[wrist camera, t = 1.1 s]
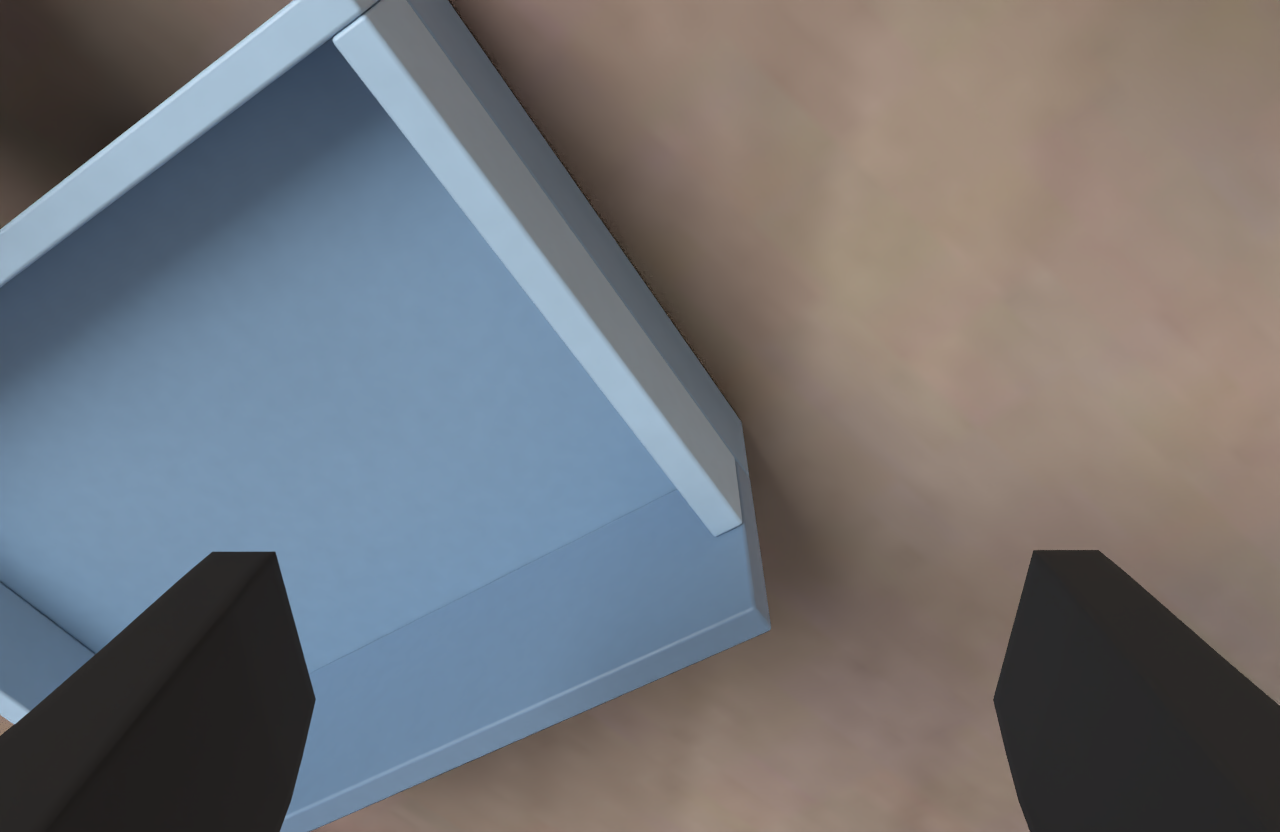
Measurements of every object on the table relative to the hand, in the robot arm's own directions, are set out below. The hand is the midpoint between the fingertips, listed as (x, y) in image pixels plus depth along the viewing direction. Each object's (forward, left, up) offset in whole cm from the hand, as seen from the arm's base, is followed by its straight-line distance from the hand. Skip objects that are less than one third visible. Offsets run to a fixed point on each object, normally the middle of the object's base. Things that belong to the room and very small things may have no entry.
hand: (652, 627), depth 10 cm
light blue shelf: (-8, +1, -10) cm, 13 cm away
